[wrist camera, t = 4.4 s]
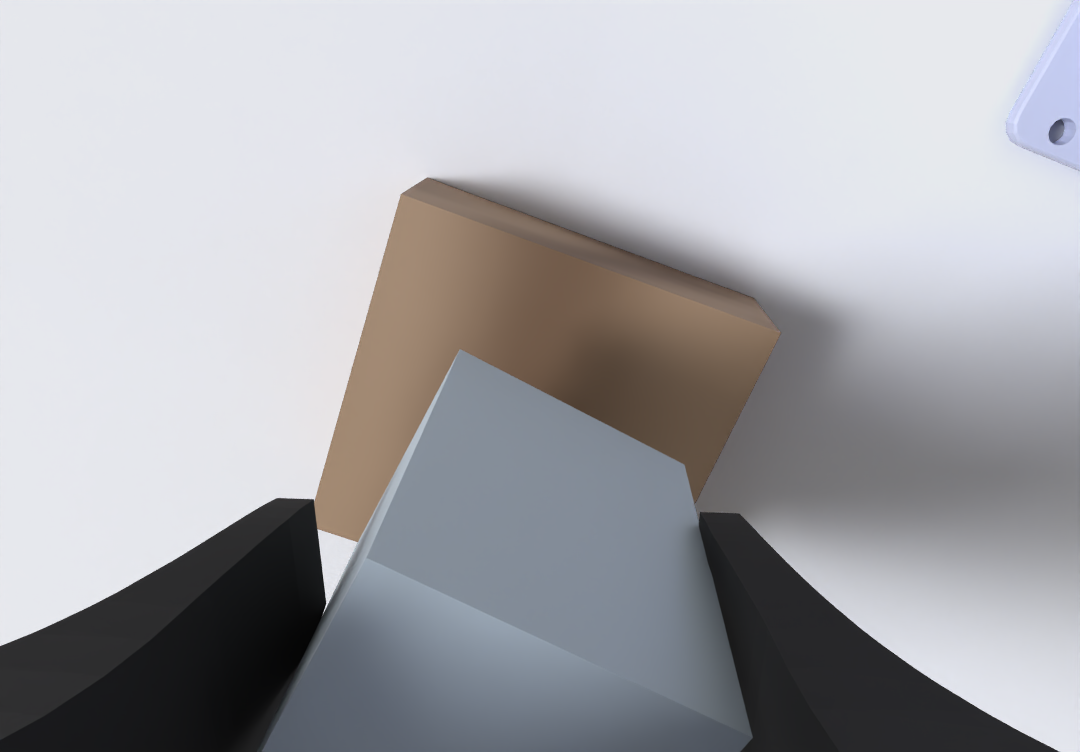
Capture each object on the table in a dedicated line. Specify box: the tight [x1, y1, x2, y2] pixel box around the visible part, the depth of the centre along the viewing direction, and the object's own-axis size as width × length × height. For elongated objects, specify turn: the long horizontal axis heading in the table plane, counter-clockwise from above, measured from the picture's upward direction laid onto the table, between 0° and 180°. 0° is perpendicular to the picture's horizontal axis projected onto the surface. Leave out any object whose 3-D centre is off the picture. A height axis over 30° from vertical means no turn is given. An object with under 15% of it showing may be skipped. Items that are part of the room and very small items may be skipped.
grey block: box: [257, 349, 753, 752], centre depth 11 cm, size 4×4×6 cm
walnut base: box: [314, 178, 781, 542], centre depth 18 cm, size 8×8×3 cm
